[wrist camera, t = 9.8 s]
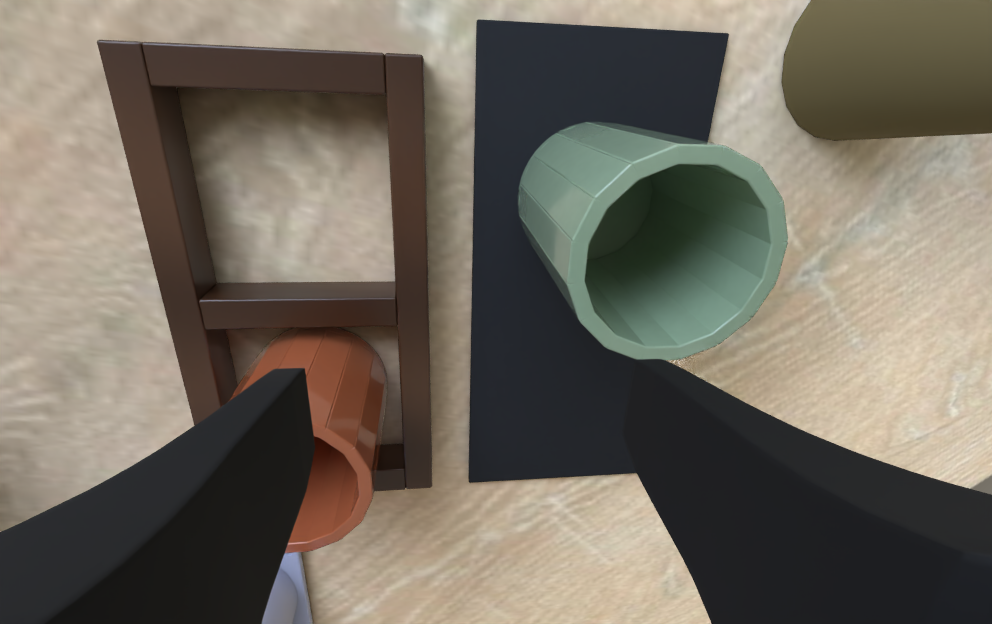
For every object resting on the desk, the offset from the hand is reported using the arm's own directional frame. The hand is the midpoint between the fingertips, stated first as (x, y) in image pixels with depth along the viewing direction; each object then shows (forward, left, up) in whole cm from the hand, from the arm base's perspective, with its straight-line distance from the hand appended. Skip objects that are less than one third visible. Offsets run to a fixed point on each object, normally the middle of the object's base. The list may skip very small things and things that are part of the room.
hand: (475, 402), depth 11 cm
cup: (+3, -5, -10) cm, 12 cm away
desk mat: (-2, -5, -10) cm, 12 cm away
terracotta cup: (-6, +6, -10) cm, 13 cm away
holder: (-2, +6, -10) cm, 12 cm away
